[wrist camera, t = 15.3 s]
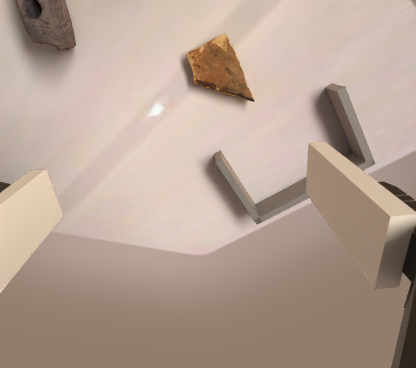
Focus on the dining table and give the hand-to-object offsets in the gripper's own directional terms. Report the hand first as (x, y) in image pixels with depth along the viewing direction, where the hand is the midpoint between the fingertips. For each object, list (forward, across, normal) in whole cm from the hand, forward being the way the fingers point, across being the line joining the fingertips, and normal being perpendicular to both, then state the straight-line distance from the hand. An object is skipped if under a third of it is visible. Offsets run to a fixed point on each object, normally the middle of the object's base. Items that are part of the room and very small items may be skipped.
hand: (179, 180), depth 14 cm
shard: (+36, +9, +2) cm, 37 cm away
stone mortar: (+35, -19, +15) cm, 42 cm away
